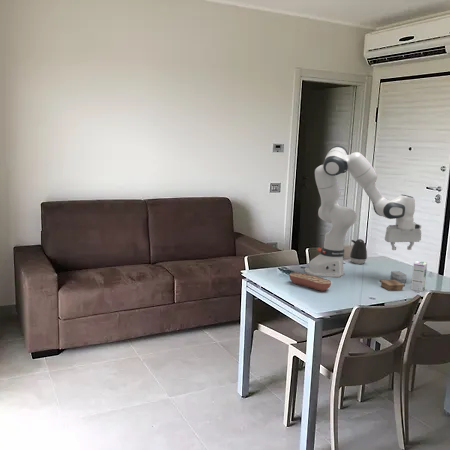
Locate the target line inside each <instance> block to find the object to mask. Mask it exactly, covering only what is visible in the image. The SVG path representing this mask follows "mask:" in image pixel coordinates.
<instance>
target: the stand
mask: <svg viewBox="0 0 450 450" xmlns="http://www.w3.org/2000/svg"><path fill="white" fill-rule="evenodd" d="M379 282H380V283H381V287H382V288H384V289H386V290H388V291H390V292H391V291H393V292H394V291H403V289H404V288H403V287H405V286H406V285H405V283H400V282H398V281H396V280H390V279H386V280H385V279H381V280H379Z"/></svg>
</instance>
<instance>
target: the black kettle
mask: <svg viewBox="0 0 450 450" xmlns="http://www.w3.org/2000/svg"><path fill="white" fill-rule="evenodd" d="M351 242H352V243H353V245H352V247H351V251H350V254H349V257H350V261H351V262H352V263H354V264H357V265H362V264H364V263H365V262H366V261H367V259H368V249H367V246H366V242H365V241H364V240H363V239H361V238H359V239H356V240H353V239H351Z"/></svg>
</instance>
